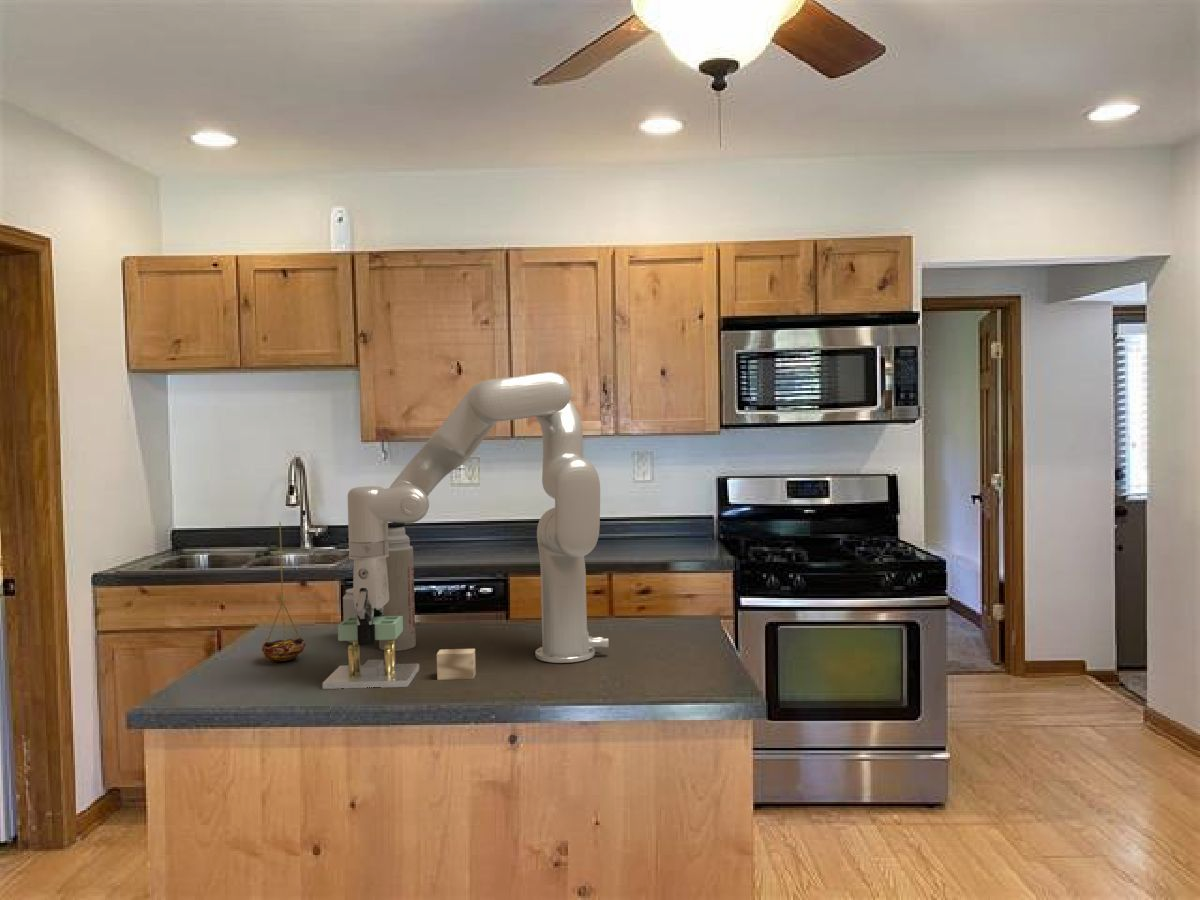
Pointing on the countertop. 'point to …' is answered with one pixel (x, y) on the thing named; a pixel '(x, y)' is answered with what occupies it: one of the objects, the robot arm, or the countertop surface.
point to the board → (383, 627)
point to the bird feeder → (286, 647)
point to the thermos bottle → (400, 585)
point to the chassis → (371, 671)
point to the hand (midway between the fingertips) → (371, 639)
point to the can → (349, 606)
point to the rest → (456, 664)
